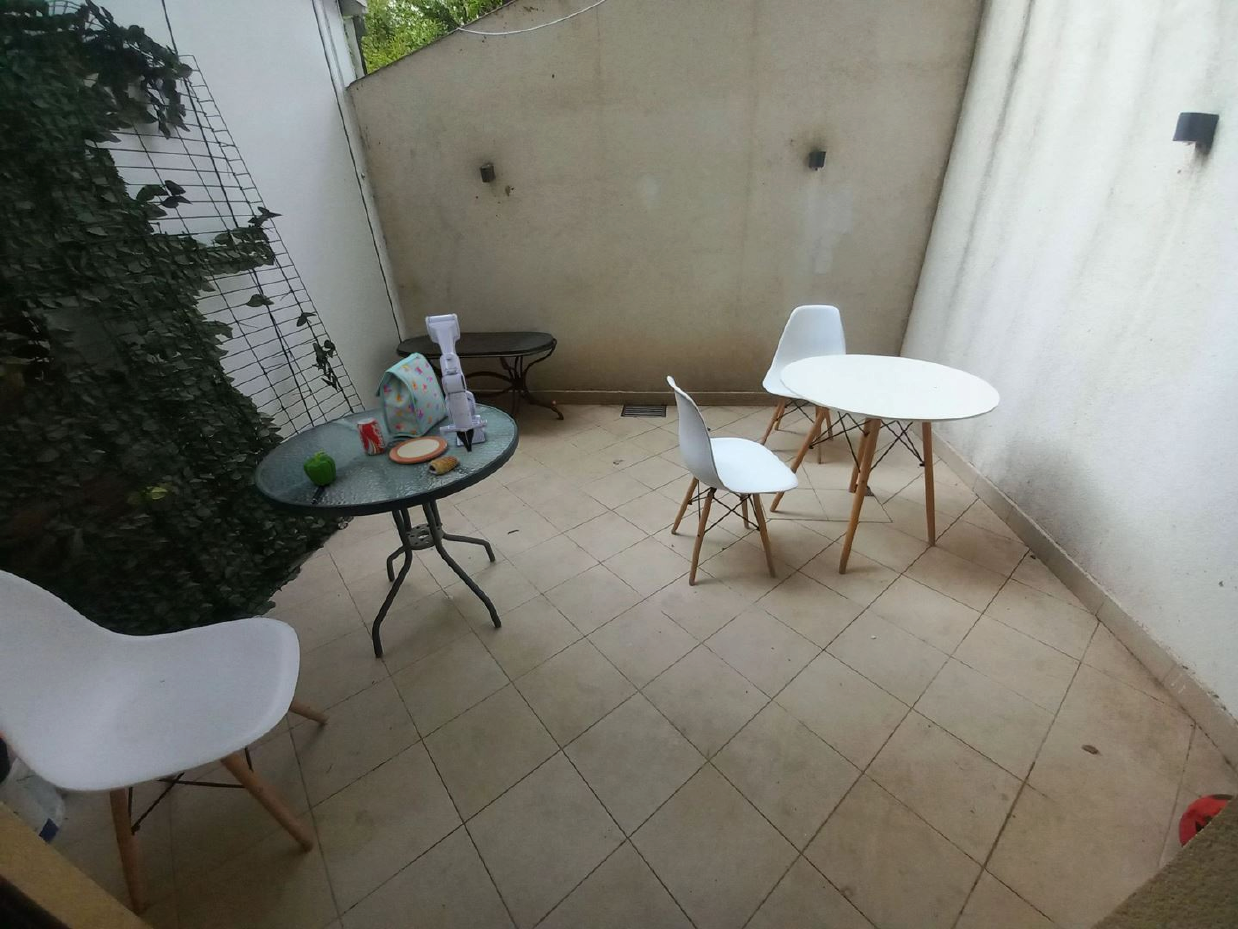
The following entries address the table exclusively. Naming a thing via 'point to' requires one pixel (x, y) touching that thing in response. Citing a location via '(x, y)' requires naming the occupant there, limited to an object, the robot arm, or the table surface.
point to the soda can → (370, 435)
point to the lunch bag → (411, 398)
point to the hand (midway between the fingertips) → (469, 450)
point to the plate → (418, 450)
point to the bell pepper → (320, 469)
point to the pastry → (442, 465)
